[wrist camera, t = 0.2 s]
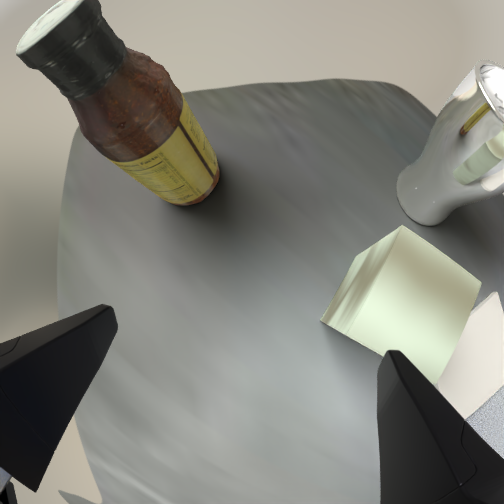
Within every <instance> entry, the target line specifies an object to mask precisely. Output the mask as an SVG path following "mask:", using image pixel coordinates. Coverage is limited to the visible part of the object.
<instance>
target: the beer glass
mask: <svg viewBox="0 0 504 504" xmlns="http://www.w3.org/2000/svg"><path fill="white" fill-rule="evenodd" d="M396 192H397V197H398V200H399V203H400V205H401V207H402V209H403V210H404V211H405V213H406V214H407V215H408V216H409V217H410V218H411V219H412V220H414V221H415V222H417V223H419V224H422V225H425V226H434V225H437V224H439V223H441V222H442V221H444V220H445V219H446V218H447V217H448V216H449V214H450V213H451V212H452V211H453V210H454V209H456V208H458V207H460V206H463V205H466V204H470V203H474V202H478V201H482V200H486V199H489V198H491V197H494V196H497V195H500V194H502V193H503V192H504V67H503V66H501V65H499V64H497V63H495V62H493V61H489V60H480V61H478V62H477V63H476V65H475V67H474V68H473V69H472V70H471V72H470V73H469V74H468V75H467V76H466V78H465V79H464V80H463V81H462V82H461V83H460V85H459V86H458V87H457V88H456V90H455V91H454V92H453V94H452V95H451V96H450V98H449V99H448V100H447V102H446V103H445V105H444V107H443V108H442V110H441V111H440V113H439V115H438V117H437V119H436V121H435V123H434V125H433V127H432V130H431V132H430V135H429V137H428V140H427V142H426V144H425V147H424V149H423V151H422V153H421V155H420V157H419V158H418V159H417V160H416V161H415V162H413V163H411V164H410V165H408V166H407V167H405V168H404V169H403V170H402V171H401V173H400V174H399V176H398V179H397V183H396Z"/></svg>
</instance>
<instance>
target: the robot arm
mask: <svg viewBox="0 0 504 504" xmlns="http://www.w3.org/2000/svg"><path fill="white" fill-rule="evenodd" d="M117 330H118V324H117V320H116V316H115V312H114V309H113V308H112V307H111V306H109V305H105V304H101V305H98V306H96V307H93V308H90V309H88V310H85V311H83V312H80V313H78V314H75V315H72V316H70V317H67V318H65V319H62V320H60V321H57V322H54V323H52V324H49V325H47V326H44V327H42V328H39V329H37V330H34V331H32V332H29V333H26V334H24V335H22V336H19V337H16V338H14V339H11V340H8V341H6V342H3V343H0V504H17V499H16V495H15V490H14V485H13V483H12V482H10V479H11V478H12V477H14V478H15V479H16V480H18V481H19V482H20V483H22V484H23V485H25V486H26V487H28V488H29V489H31V490H32V491H34V492H36V491H37V490H38V488H39V485H40V483H41V481H42V478H43V476H44V474H45V472H46V469H47V467H48V465H49V463H50V461H51V459H52V456H53V454H54V451H55V450H56V448H57V446H58V444H59V442H60V440H61V438H62V436H63V434H64V432H65V430H66V428H67V426H68V424H69V422H70V420H71V418H72V416H73V415H74V413H75V411H76V409H77V407H78V405H79V403H80V402H81V400H82V398H83V396H84V394H85V393H86V391H87V389H88V387H89V385H90V384H91V382H92V380H93V378H94V377H95V375H96V373H97V372H98V370H99V368H100V366H101V364H102V362H103V360H104V358H105V356H106V354H107V352H108V350H109V347H110V345H111V343H112V341H113V339H114V337H115V335H116V333H117ZM377 423H378V436H379V452H380V482H381V501H380V504H504V459H503V458H502V457H501V456H500V455H499V454H498V453H497V452H496V451H495V450H494V449H492V448H491V447H490V446H489V445H488V444H487V443H486V442H485V441H484V440H483V439H482V438H481V437H480V436H479V435H478V433H477V432H476V431H475V430H474V429H473V428H472V427H471V426H470V425H469V424H468V422H467V421H464V418H463V417H462V416H461V415H460V414H459V413H458V411H457V410H456V409H455V408H454V407H453V406H452V405H451V404H450V403H449V402H448V400H447V399H446V398H445V397H444V396H443V395H442V394H441V393H440V392H439V391H438V390H437V389H436V387H435V386H434V385H433V384H432V383H431V382H430V381H429V380H428V379H427V378H426V377H425V376H424V375H423V374H422V373H421V372H420V370H419V369H418V368H417V367H416V366H415V365H414V364H413V363H412V362H411V361H410V360H409V359H408V358H407V357H406V356H405V355H404V354H403V353H402V352H401V351H400V350H387V351H386V353H385V355H384V357H383V359H382V362H381V364H380V366H379V368H378V373H377Z"/></svg>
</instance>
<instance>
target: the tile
mask: <svg viewBox="0 0 504 504" xmlns="http://www.w3.org/2000/svg"><path fill="white" fill-rule="evenodd" d="M503 385H504V313H503V309H502V306H501V303H500V299H499V296H498V293H497V292H492V293H491V294H490V295H489V296H488V297H487V298H486V299H485V300H484V301H482V302H481V303H480V304H479V305H478V306H477V307H476V308H474V309H473V310H472V311H471V313H470V316H469V318H468V321H467V323H466V325H465V328H464V330H463V332H462V334H461V337H460V339H459V341H458V343H457V345H456V347H455V349H454V351H453V353H452V355H451V357H450V359H449V361H448V363H447V365H446V367H445V369H444V371H443V372H442V374H441V376H440V378H439V379H438V381H437V383H436V385H435V387H436V389H437V390H438V391H439V392H440V393H441V394H442V395H443V396H444V397H445V398H446V399H447V400H448V402H449V403H450V404H451V405H452V406H453V407H454V408H455V409H456V410H457V411H458V413H459V414H460V415H461V416H462V417H463V418H464V420H465V419H466V418H468V417H469V416H470V415H471V414H472V413H474V412H475V411H476V410H477V409H478V408H479V407H481V406H482V405H483V404H484V403H485V402H486V401H487V400H488V399H489V398H490V397H492V396H493V395H494V394H495V393H496V392H497V391H498V390H499V389H500V388H501V387H502V386H503Z"/></svg>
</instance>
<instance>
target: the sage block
mask: <svg viewBox="0 0 504 504" xmlns="http://www.w3.org/2000/svg"><path fill="white" fill-rule="evenodd" d="M481 284H482V283H481V282H480V281H479V280H477V279H476V278H475V277H474V276H473V275H471V274H470V273H469V272H467V271H466V270H465V269H464V268H462V267H461V266H460V265H458V264H457V263H456V262H454V261H453V260H452V259H450V258H449V257H448V256H446V255H445V254H444V253H442V252H441V251H439V250H438V249H437V248H435V247H434V246H432V245H431V244H430V243H428V242H427V241H425V240H424V239H422V238H421V237H420V236H418V235H417V234H415V233H414V232H412V231H411V230H409V229H408V228H406V227H405V226H403V225H402V226H400V227H399V228H397V229H396V230H394V231H393V232H392V233H390V234H389V235H387V236H386V237H384V238H383V239H381V240H380V241H378V242H377V243H375V244H374V245H372V246H371V247H369V248H368V249H366V250H365V251H363V252H362V253H360V254H359V255H357V256H356V257H355V259H354V261H353V263H352V265H351V267H350V268H349V270H348V272H347V274H346V276H345V278H344V280H343V281H342V283H341V285H340V287H339V289H338V290H337V292H336V294H335V296H334V297H333V299H332V301H331V303H330V304H329V306H328V308H327V309H326V311H325V313H324V314H323V316H322V318H321V319H320V321H322V322H324V323H325V324H327V325H329V326H330V327H332V328H334V329H336V330H337V331H339V332H341V333H343V334H344V335H346V336H348V337H349V338H351V339H353V340H355V341H356V342H358V343H360V344H362V345H363V346H365V347H367V348H369V349H371V350H372V351H374V352H376V353H378V354H379V355H381V356H383V357H384V355H385V353H386V351H387V350H400V351H401V352H402V353H403V354H404V355H405V356H406V357H407V358H408V359H409V360H410V361H411V362H412V363H413V364H414V365H415V366H416V367H417V368H418V369H419V370H420V372H421V373H422V374H423V375H424V376H425V377H426V378H427V379H428V380H429V381H430V382H431V383H432V384H434V385H436V383H437V381H438V379H439V378H440V376H441V374H442V372H443V371H444V369H445V367H446V365H447V363H448V361H449V359H450V357H451V355H452V353H453V351H454V349H455V347H456V345H457V343H458V341H459V339H460V337H461V334H462V332H463V330H464V328H465V325H466V323H467V321H468V318H469V316H470V313H471V311H472V308H473V306H474V303H475V301H476V298H477V295H478V292H479V289H480V287H481Z"/></svg>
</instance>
